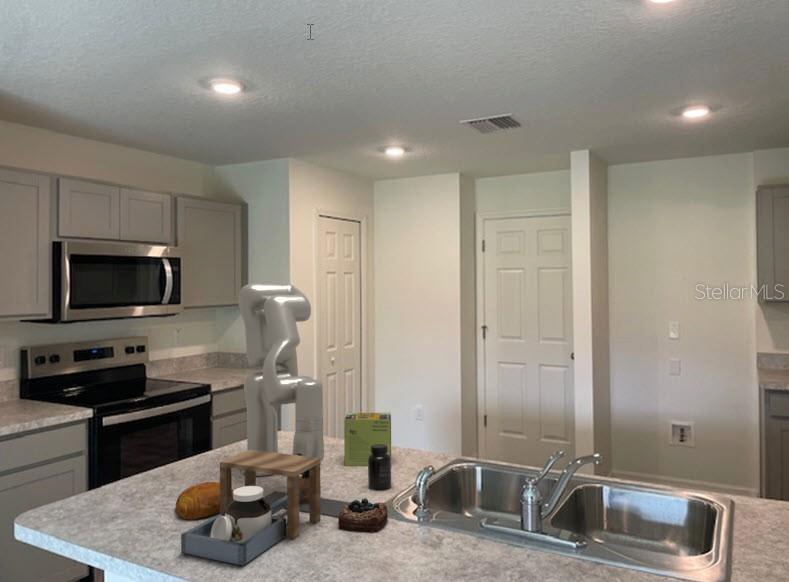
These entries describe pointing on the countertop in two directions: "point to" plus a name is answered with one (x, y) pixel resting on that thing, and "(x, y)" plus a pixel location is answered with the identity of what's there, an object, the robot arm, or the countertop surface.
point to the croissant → (199, 500)
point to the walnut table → (279, 466)
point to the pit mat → (326, 505)
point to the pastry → (363, 516)
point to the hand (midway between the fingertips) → (309, 491)
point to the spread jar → (243, 516)
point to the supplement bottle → (379, 468)
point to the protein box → (365, 436)
